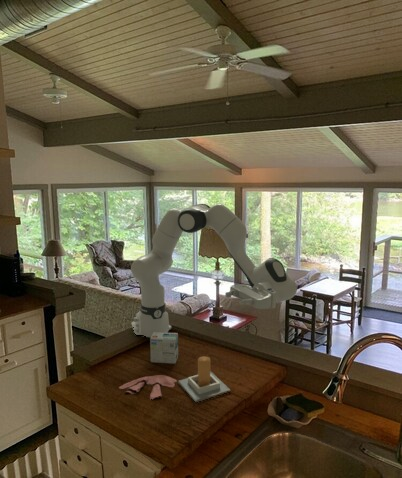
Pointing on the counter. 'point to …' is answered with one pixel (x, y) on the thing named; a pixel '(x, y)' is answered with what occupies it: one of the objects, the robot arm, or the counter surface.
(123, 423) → the counter surface
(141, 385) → the cloth
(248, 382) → the counter surface
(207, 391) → the cylinder holder
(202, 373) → the tapered orange cylinder
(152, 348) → the light bulb box
